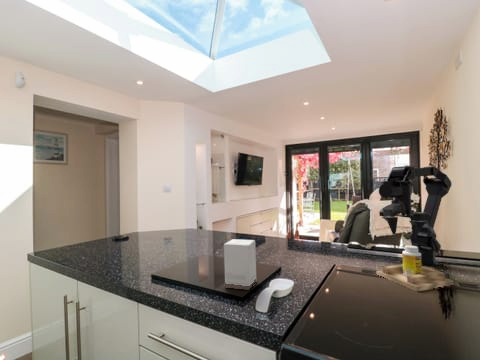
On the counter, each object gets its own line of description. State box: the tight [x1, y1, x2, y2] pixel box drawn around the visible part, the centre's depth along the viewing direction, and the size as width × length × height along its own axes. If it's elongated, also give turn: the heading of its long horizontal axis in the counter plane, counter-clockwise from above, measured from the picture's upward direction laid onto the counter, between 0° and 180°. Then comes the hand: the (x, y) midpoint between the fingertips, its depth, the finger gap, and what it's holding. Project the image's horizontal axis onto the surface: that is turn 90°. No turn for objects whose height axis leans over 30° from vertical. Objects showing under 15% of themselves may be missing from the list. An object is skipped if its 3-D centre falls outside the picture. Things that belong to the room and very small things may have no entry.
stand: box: [375, 263, 454, 292], centre depth 90 cm, size 16×16×4 cm
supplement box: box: [223, 238, 257, 286], centre depth 89 cm, size 9×9×15 cm
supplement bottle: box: [402, 244, 423, 276], centre depth 90 cm, size 6×6×10 cm
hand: (403, 236), depth 102 cm, fingers open, 9 cm apart
